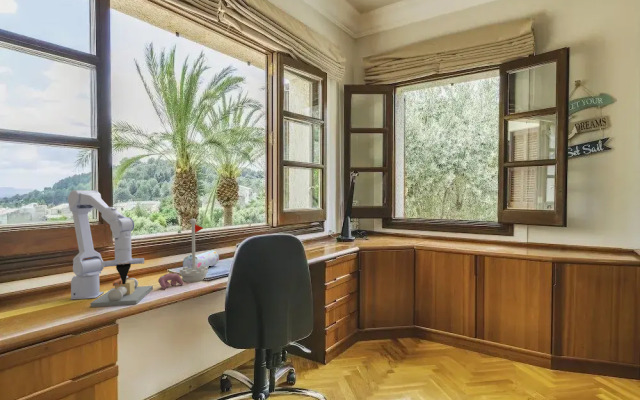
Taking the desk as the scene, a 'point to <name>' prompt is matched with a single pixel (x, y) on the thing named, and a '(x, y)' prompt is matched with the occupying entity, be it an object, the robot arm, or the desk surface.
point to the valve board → (124, 299)
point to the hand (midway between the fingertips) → (123, 283)
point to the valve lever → (118, 282)
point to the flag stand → (194, 272)
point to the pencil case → (202, 259)
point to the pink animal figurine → (173, 277)
